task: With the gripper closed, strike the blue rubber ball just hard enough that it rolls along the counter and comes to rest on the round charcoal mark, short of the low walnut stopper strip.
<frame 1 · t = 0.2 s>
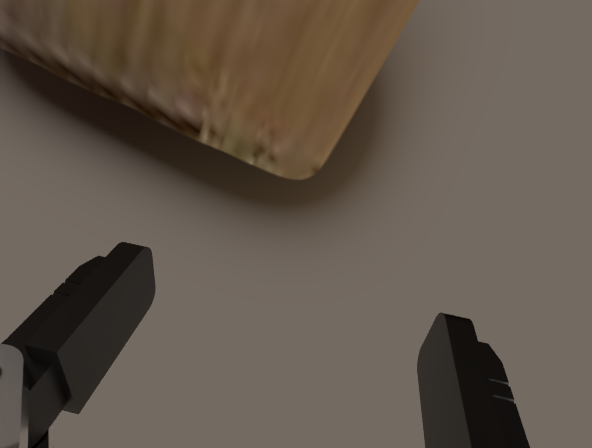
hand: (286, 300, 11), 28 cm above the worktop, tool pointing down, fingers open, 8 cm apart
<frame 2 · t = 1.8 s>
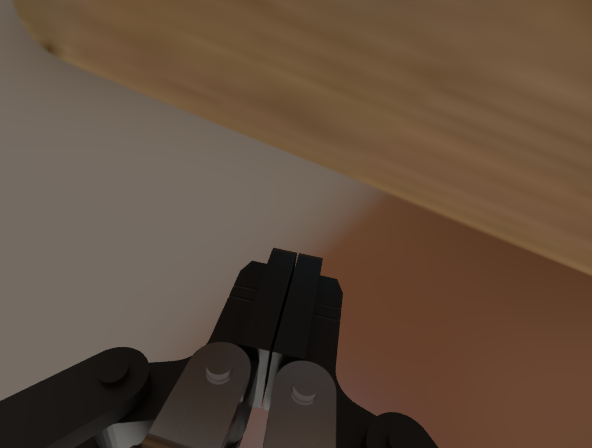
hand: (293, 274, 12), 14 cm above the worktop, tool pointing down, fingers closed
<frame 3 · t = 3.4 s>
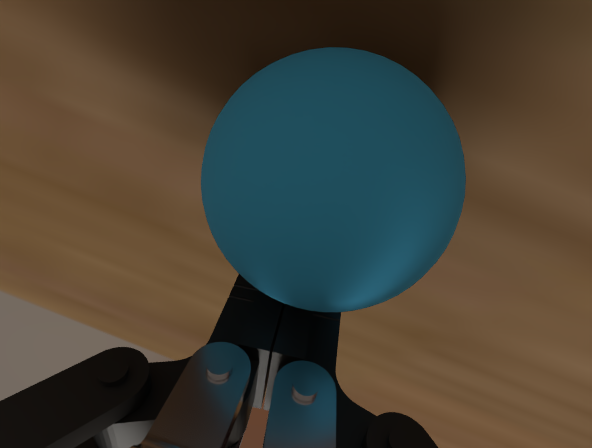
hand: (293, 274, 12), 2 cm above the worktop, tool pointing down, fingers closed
ball: (329, 184, 8), on the worktop, touching gripper
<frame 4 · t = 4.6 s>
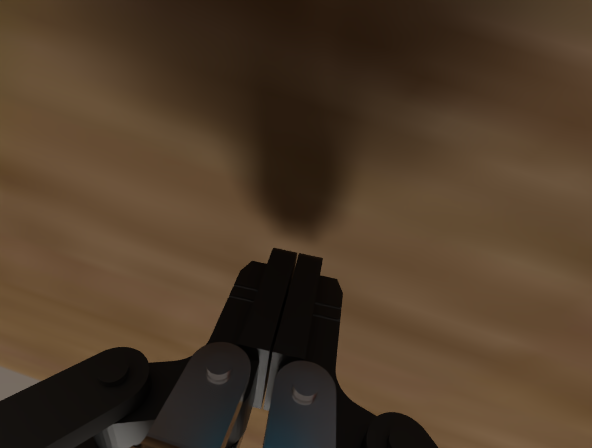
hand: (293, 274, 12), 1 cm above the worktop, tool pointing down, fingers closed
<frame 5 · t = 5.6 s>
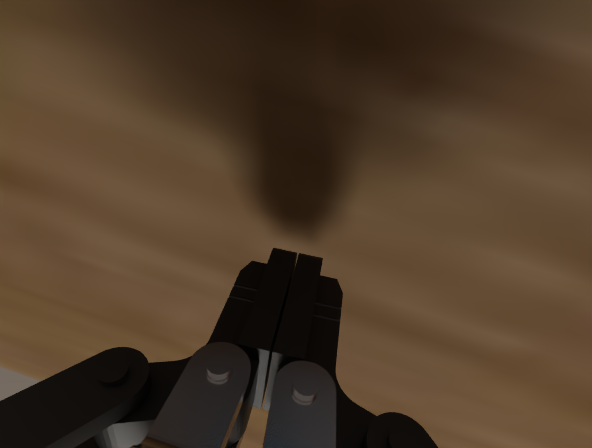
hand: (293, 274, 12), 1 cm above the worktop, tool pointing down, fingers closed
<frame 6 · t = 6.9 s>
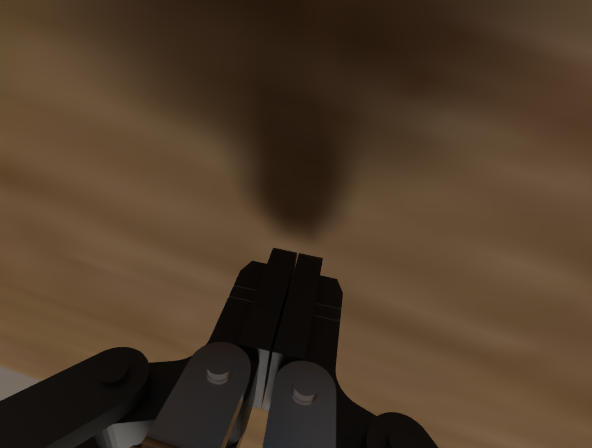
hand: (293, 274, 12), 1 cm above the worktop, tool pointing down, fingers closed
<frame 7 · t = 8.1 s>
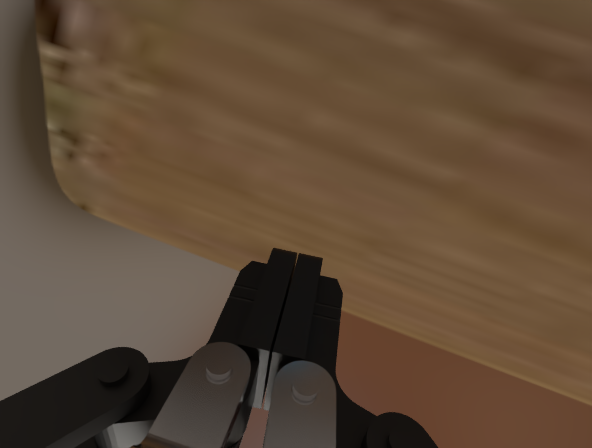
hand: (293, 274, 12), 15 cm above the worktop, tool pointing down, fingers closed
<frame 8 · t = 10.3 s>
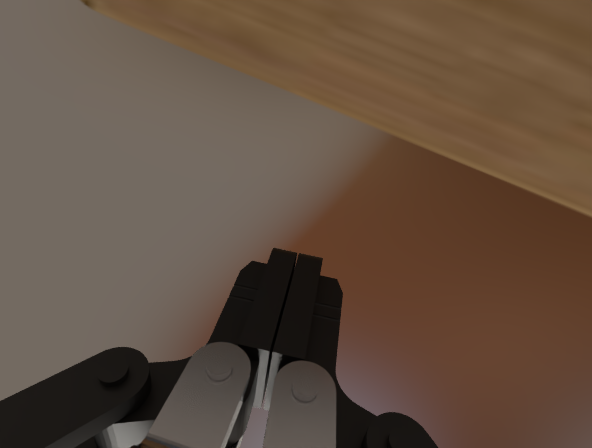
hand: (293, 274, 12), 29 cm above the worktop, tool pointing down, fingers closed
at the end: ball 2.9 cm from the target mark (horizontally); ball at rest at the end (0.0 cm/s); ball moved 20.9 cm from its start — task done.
